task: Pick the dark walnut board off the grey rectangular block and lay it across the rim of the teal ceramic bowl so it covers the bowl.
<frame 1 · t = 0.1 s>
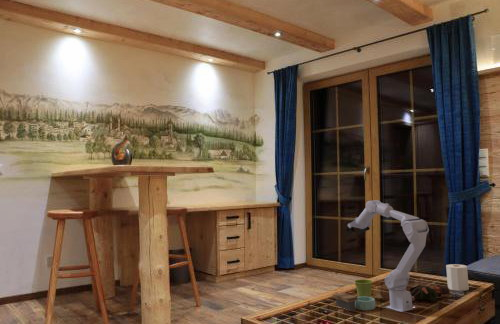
hand: (352, 234, 216), 32 cm above the table, tool tilted 50°, fingers open, 7 cm apart
walnut board: (345, 299, 193), point 4 cm above the table, touching grey rectangular block
toilet paper: (458, 289, 220), on the table
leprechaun: (424, 299, 203), on the table
grey rectangular block: (345, 308, 193), on the table
plant pot: (364, 298, 209), on the table
bowl: (365, 307, 193), on the table
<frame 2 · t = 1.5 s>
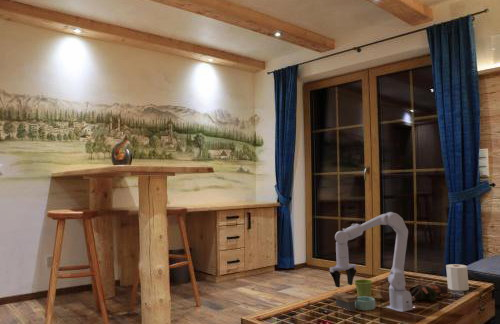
hand: (343, 285, 194), 11 cm above the table, tool pointing down, fingers open, 7 cm apart
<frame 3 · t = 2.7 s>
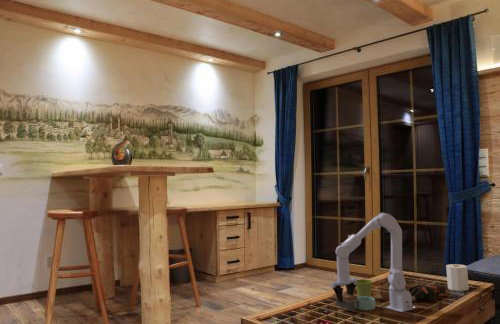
hand: (345, 300, 193), 4 cm above the table, tool pointing down, fingers closed on walnut board, 5 cm apart
walnut board: (345, 299, 193), point 4 cm above the table, touching gripper, grey rectangular block
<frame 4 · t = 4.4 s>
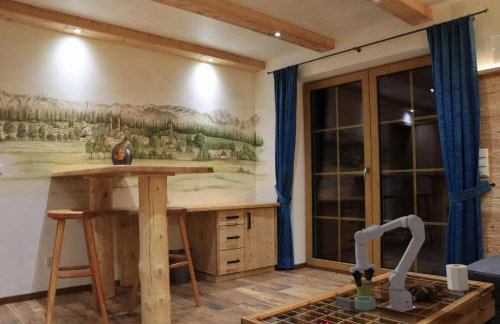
hand: (363, 285, 194), 10 cm above the table, tool pointing down, fingers closed on walnut board, 5 cm apart
walnut board: (363, 284, 194), point 11 cm above the table, touching gripper
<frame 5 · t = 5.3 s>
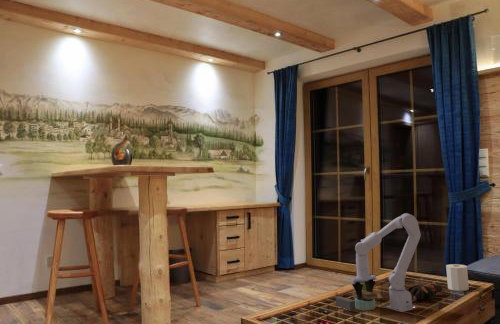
hand: (364, 297, 194), 5 cm above the table, tool pointing down, fingers closed on walnut board, 5 cm apart
walnut board: (364, 295, 194), point 5 cm above the table, touching gripper
when the fingers open (5 cm above the table, at t = 5.9 s): walnut board drops 1 cm, resting on bowl.
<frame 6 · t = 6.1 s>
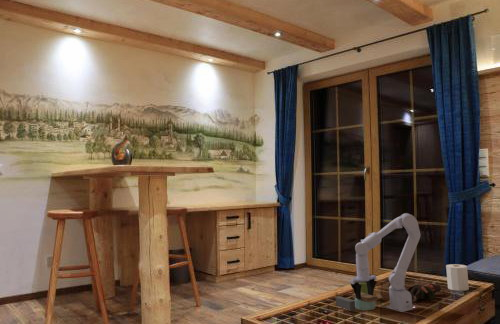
hand: (364, 297, 194), 5 cm above the table, tool pointing down, fingers open, 7 cm apart
walnut board: (364, 298, 194), point 4 cm above the table, touching bowl
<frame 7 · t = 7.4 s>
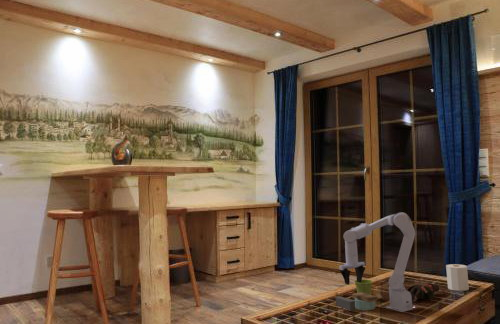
hand: (353, 283, 199), 10 cm above the table, tool pointing down, fingers open, 7 cm apart
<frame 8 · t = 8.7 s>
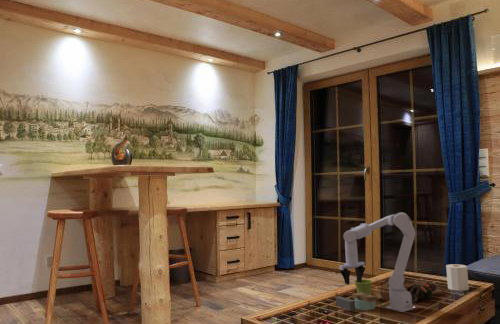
hand: (353, 283, 199), 10 cm above the table, tool pointing down, fingers open, 7 cm apart
at the end: walnut board 0.1 cm off-centre on the bowl, point 4.0 cm above the bowl's base; walnut board touching bowl; the gripper is holding nothing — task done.
